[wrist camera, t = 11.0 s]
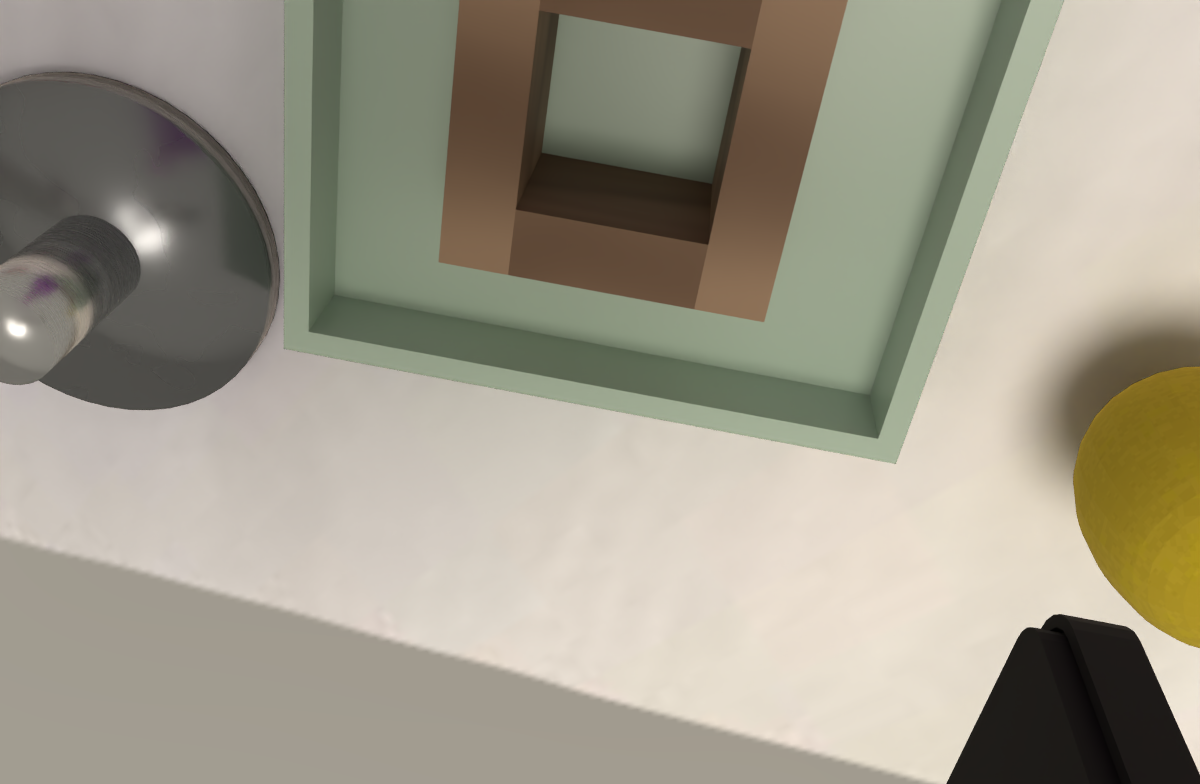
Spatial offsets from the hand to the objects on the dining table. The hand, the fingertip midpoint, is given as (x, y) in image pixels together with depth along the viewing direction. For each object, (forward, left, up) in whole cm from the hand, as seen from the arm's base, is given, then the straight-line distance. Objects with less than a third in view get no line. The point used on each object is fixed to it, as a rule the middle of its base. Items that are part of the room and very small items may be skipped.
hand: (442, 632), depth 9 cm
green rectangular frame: (+1, 0, -18) cm, 18 cm away
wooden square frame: (0, 0, -18) cm, 18 cm away
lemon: (+15, -6, -19) cm, 24 cm away
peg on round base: (-12, -7, -18) cm, 23 cm away
